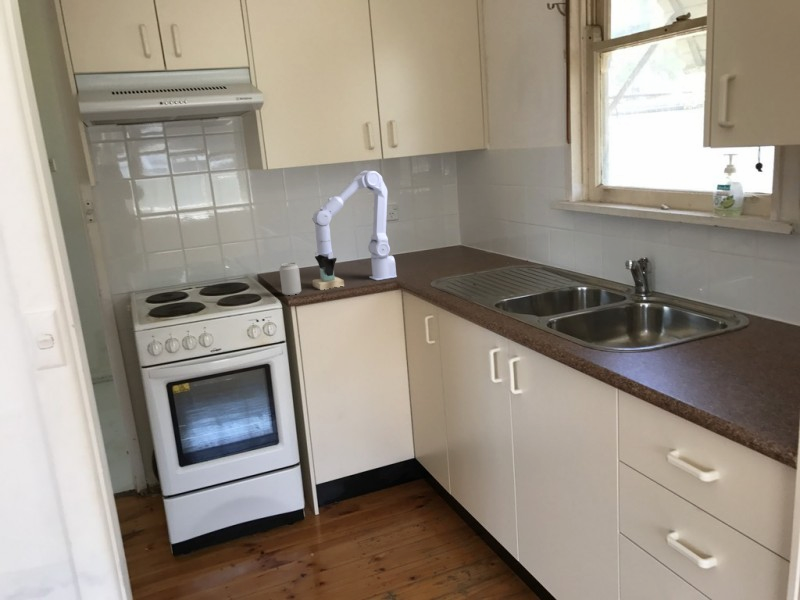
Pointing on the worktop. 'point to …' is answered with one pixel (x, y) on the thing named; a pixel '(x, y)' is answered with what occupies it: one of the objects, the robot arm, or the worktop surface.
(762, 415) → the worktop surface
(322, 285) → the beige square slab
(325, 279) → the tin
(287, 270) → the can
